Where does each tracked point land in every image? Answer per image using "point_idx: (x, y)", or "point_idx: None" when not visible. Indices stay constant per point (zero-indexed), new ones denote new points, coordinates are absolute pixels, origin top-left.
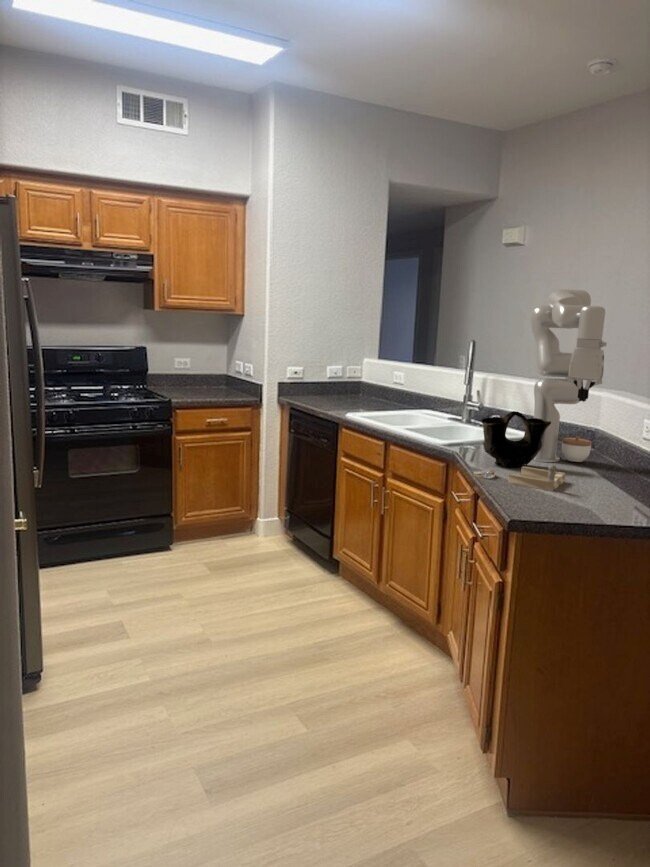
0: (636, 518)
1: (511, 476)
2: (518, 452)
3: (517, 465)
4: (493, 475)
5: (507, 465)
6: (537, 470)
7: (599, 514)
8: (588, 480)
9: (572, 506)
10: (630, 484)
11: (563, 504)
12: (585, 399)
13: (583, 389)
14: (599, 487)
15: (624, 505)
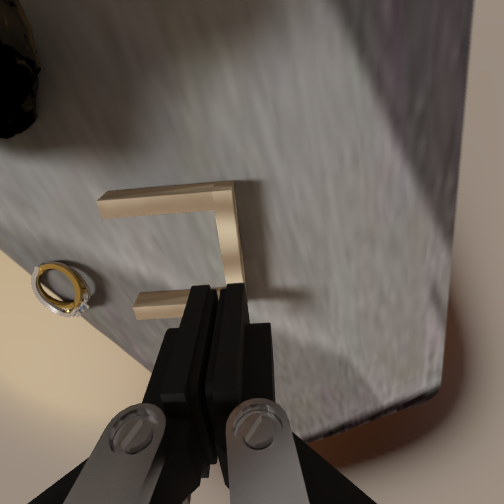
0: (432, 355)
1: (144, 317)
2: (1, 127)
3: (33, 115)
4: (88, 293)
5: (12, 135)
6: (153, 214)
7: (367, 372)
8: (286, 93)
9: (315, 361)
10: (428, 25)
11: (297, 360)
12: (247, 315)
13: (207, 430)
14: (335, 166)
15: (410, 292)
